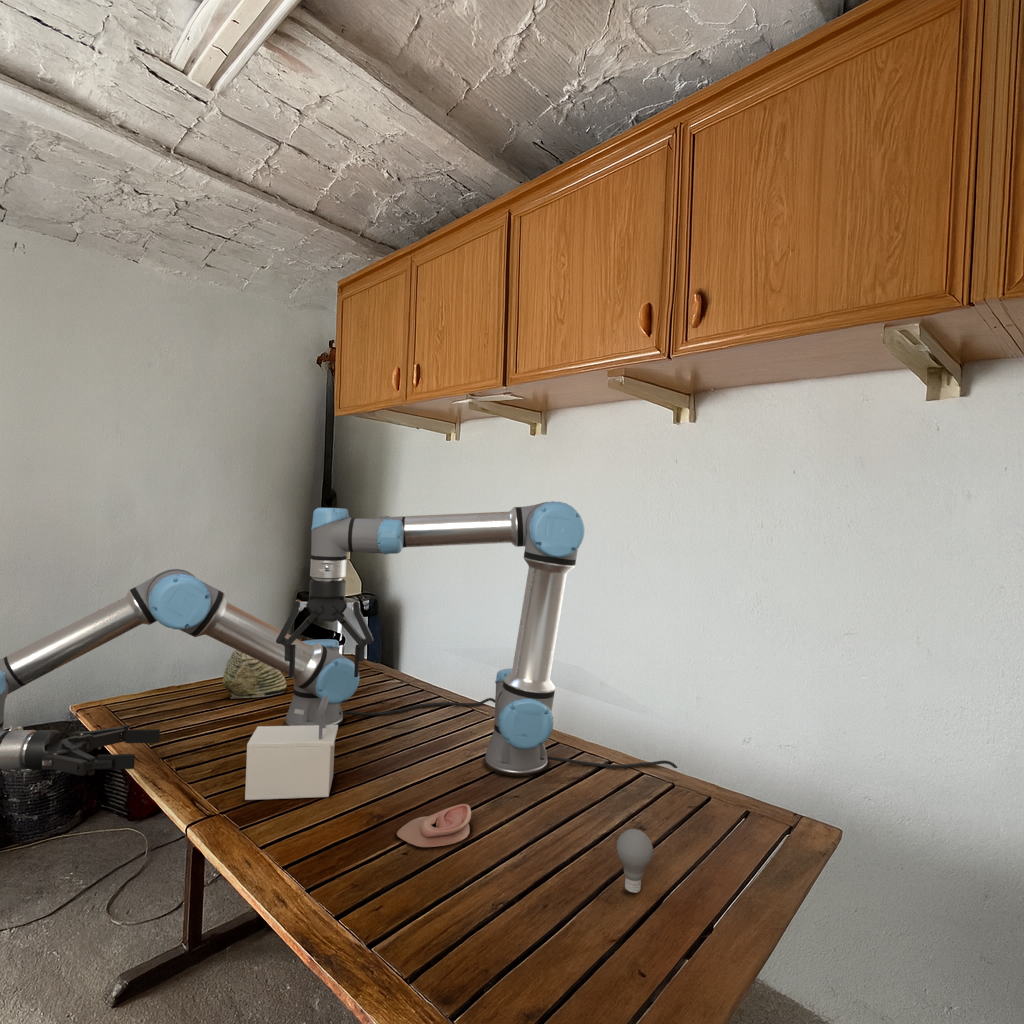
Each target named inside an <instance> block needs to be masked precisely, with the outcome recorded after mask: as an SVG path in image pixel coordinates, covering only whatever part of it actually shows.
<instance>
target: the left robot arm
mask: <svg viewBox="0 0 1024 1024" xmlns="http://www.w3.org/2000/svg"><path fill="white" fill-rule="evenodd" d="M157 622H158V623H159V624H161V626H164V627H166V628H168V629H173V630H179V631H180V632H183V633H185V634H187V635H189V636H192V637H193V638H198V637H202V636H207V637H210V638H211V639H213V640H216V641H218V642H220V643H222V644H224V645H225V646H228V647H230V648H231V649H234V650H238V651H240V652H242V653H244V654H246V655H248V656H250V657H253V658H255V659H257V660H259V661H261V662H263V663H265V664H267V665H269V666H271V667H273V668H275V669H277V670H279V671H280V672H281V673H282V674H285V675H287V676H289V661H285V659H284V656H285V647H284V645H282V644H277V643H276V639H277V638H278V636H279V634H280V632H281V630H282V629H279V628H277V627H275V626H274V625H271V624H270V623H267V622H266V621H264V620H262V619H260V618H258V617H256V616H254V615H253V614H251V613H249V612H247V611H245V610H243V609H241V608H239V607H237V606H236V605H233V604H232V603H231V602H228V601H227V599H226V595H225V593H224V592H223V591H221V590H219V589H218V588H217V587H214V586H212V585H210V584H208V583H207V582H204V581H202V580H201V579H199V578H198V577H196V576H195V575H194V574H193V573H192V572H190V571H188V570H184V569H180V568H172V569H167V570H164V571H161V572H159V573H158V574H156V575H154V576H152V577H150V578H149V579H147V580H145V581H144V582H142V583H140V584H138V585H136V586H135V587H132V588H130V589H129V590H128V591H127V593H126V595H125V596H124V597H122V598H120V599H118V600H116V601H114V602H112V603H110V604H108V605H106V606H104V607H102V608H100V609H98V610H96V611H94V612H91V613H89V614H88V615H86V616H83V617H82V618H79V619H78V620H76V621H74V622H72V623H70V624H68V625H66V626H64V627H62V628H60V629H58V630H56V631H54V632H52V633H50V634H48V635H46V636H44V637H42V638H40V639H38V640H36V641H34V642H31V643H30V644H28V645H26V646H24V647H21V648H20V649H18V650H15V651H14V652H12V653H10V654H7V655H6V656H4V657H2V658H0V771H12V772H13V773H17V772H19V771H26V770H29V771H41V770H42V771H45V770H47V771H48V770H53V771H57V772H63V773H67V774H70V775H76V776H80V777H83V776H86V775H87V776H94V775H95V773H96V771H107V770H109V771H111V770H133V769H134V768H135V755H136V754H135V753H115V754H113V753H112V754H110V753H109V754H97V755H96V756H94V755H92V754H90V753H91V752H92V751H94V749H98V748H102V747H107V746H112V745H115V744H120V743H124V742H125V744H159V742H160V734H161V729H159V728H158V729H157V728H155V729H154V728H153V729H129V725H128V724H124V725H121V726H115V727H107V728H100V729H94V730H86V731H85V730H81V731H75V732H74V735H72V736H69V737H66V738H65V737H63V735H62V733H61V732H60V731H59V730H57V729H45V730H44V729H42V730H35V729H23V730H20V729H19V730H4V722H5V720H4V718H5V707H6V706H5V705H6V699H7V697H8V695H10V694H12V693H14V692H15V691H17V690H19V689H21V688H22V687H25V686H26V685H28V684H30V683H32V682H33V681H35V680H38V679H39V678H42V677H44V676H45V675H47V674H49V673H51V672H53V671H55V670H57V669H59V668H60V667H63V666H64V665H66V664H68V663H71V662H72V661H74V660H76V659H78V658H80V657H82V656H84V655H85V654H86V655H87V654H88V653H90V652H92V651H93V650H95V649H97V648H99V647H101V646H103V645H105V644H107V643H109V642H110V641H113V640H115V639H116V638H118V637H120V636H123V635H125V634H126V633H127V632H129V631H131V630H134V629H136V628H137V627H139V626H141V625H149V626H150V625H152V624H154V623H157ZM291 635H292V634H289V633H287V634H286V636H285V638H287V639H288V638H289V637H290V636H291ZM292 645H296V648H295V674H294V676H293V678H292V683H293V695H292V696H293V697H292V699H291V702H290V704H289V708H288V711H287V713H286V715H285V726H308V725H319V716H320V715H319V714H318V713H317V710H318V707H319V705H320V702H321V699H322V698H323V697H325V696H326V697H328V698H329V702H328V705H327V708H326V725H338V727H339V726H340V725H342V723H343V722H344V715H345V716H347V715H350V716H364V717H375V716H385V715H392V714H397V713H403V712H407V711H410V710H414V709H419V708H426V707H435V706H436V707H438V706H462V707H465V706H466V707H475V706H481V705H483V704H486V703H488V702H493V703H494V704H495V698H493V697H488V698H485V699H483V700H480V701H477V702H451V701H450V702H449V701H448V702H429V703H421V704H420V703H419V704H414V705H410V706H408V707H403V708H399V709H393V710H386V711H379V712H361V711H349V710H348V711H345V710H343V709H342V706H341V704H342V703H344V702H346V701H348V700H349V699H350V698H351V697H352V696H353V695H354V694H355V693H356V691H357V690H358V687H359V684H360V679H361V678H360V672H359V673H358V677H354V669H355V661H352V659H349V658H347V657H346V656H344V655H343V654H342V653H340V648H341V647H340V643H339V641H338V640H337V639H331V638H326V639H325V638H324V639H307V640H300V639H299V638H297V639H296V640H295V641H294V642H293V643H292Z"/></svg>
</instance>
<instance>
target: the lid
mask: <svg viewBox="0 0 1024 1024" xmlns="http://www.w3.org/2000/svg"><path fill="white" fill-rule="evenodd" d="M328 702H329V698H328V697H326V696H325V697H323V698H322V699H321V702H320V705H319V707H318V710H317V713H318V714H319V715H320V716H319V725H308V726H286V725H266V726H265V725H264V726H263V725H258V726H257V727H256V728H255V730H254V731H253V734H252V735H251V737H250V739H249V740H248V742H247V743H246V749H247V748H268V747H308V746H334V747H335V745H334V743H336V738H337V734H338V731H339V726H338V725H326V708H327V705H328Z"/></svg>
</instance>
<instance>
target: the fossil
mask: <svg viewBox="0 0 1024 1024" xmlns="http://www.w3.org/2000/svg"><path fill="white" fill-rule="evenodd" d="M222 676H223V677H222V685H223V687H224V688H225V690H226V691H228V693H229V698H230V699H250V698H264V697H271V696H275V695H281V694H284V693H285V691H286V689H287V687H288V686H287V680H286V678H285V676H284V674H283V672H281V671H279V670H277V669H275V668H273V667H271V666H269V665H267V664H265V663H263V662H261V661H259V660H257V659H255V658H253V657H250V656H248V655H246V654H244V653H242V652H240V651H238V650H236V649H234V650H233V651H232V653H231V656H230V657H229V659H228V660H227V663H226V666H225V668H224V671H223V675H222Z"/></svg>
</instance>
